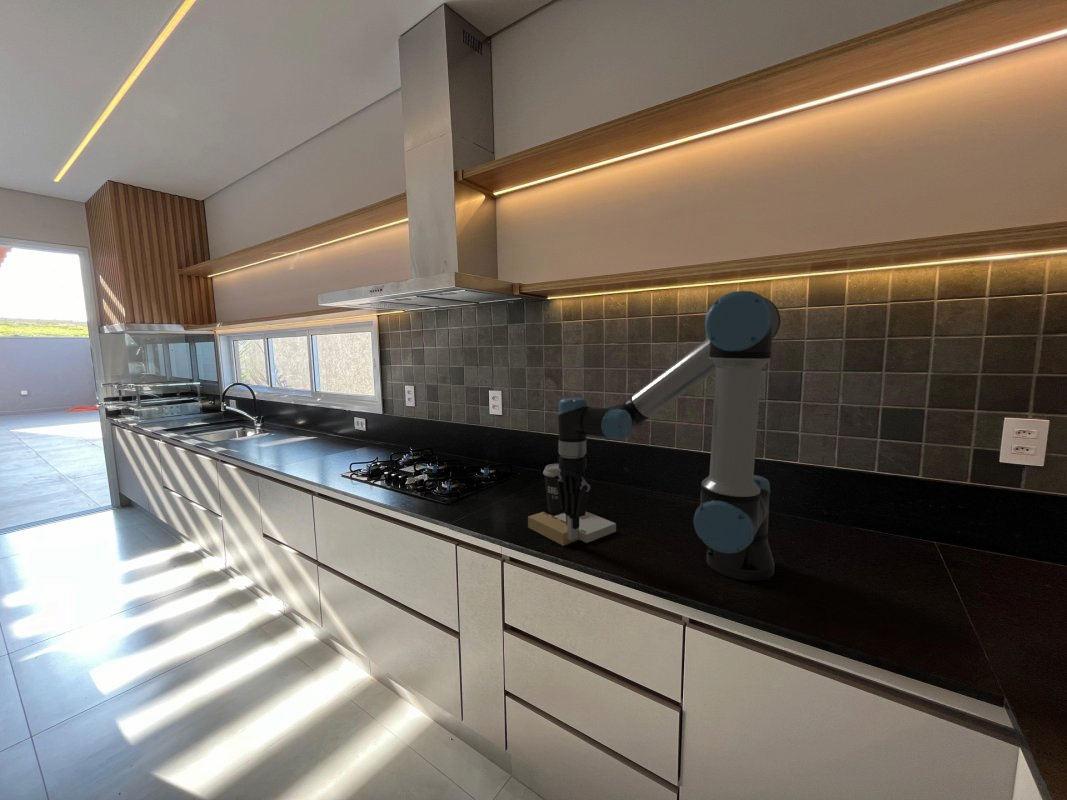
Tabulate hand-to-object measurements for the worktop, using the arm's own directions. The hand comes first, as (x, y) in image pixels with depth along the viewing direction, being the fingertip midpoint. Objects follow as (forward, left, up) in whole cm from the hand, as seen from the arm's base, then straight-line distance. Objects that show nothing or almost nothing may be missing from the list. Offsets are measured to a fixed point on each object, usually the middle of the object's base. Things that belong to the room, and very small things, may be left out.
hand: (572, 538), depth 121 cm
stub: (+9, 0, -2) cm, 9 cm away
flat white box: (+6, -10, -2) cm, 12 cm away
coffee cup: (+22, -14, -2) cm, 26 cm away
